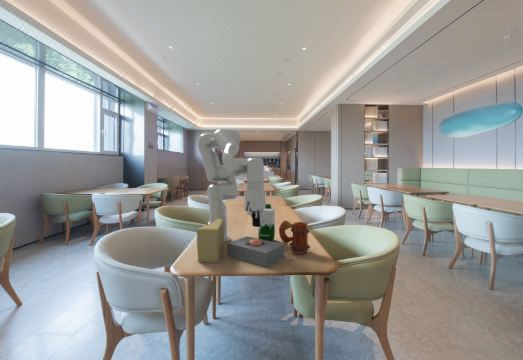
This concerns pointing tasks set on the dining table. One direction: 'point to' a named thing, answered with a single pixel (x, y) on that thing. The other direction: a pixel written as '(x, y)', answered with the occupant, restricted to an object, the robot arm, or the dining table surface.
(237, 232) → the dining table surface
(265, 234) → the milk carton
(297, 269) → the dining table surface
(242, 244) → the box
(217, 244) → the cheese
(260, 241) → the call button
